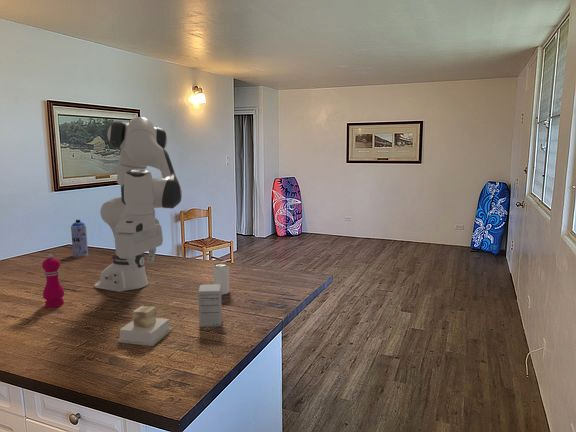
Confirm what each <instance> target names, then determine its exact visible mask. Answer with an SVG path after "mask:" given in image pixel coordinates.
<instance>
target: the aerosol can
mask: <svg viewBox="0 0 576 432" xmlns="http://www.w3.org/2000/svg"><path fill="white" fill-rule="evenodd" d="M70 231H71V243H72V244H71V245H72V257H74V258H81V257H87V256H89V250H88V249H89V248H88V237H87V236H88V235H87V234H88V233H87V226H86V224H85V223H84V222H83V221H81V219H75V222H73V223H72V224H71V226H70Z"/></svg>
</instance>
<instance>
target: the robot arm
mask: <svg viewBox="0 0 576 432" xmlns="http://www.w3.org/2000/svg"><path fill="white" fill-rule="evenodd" d="M107 139H108V140H107V141H108V143H109V145H110V146H111V147H112V148H115V149H120V154H119V159H118V166H117V173H116V174H117V175H116V182H117V184H118V185H119V186H120V194H121V196H120V197H115V198H114V197H113V198H111V199H110V200H107V201H106V202H103V203H102V205H101V207H100V209H99V213H100V218H101V219H102V220H103V221H104V223H105V224H107V225H108V226H109V228H110V229H111V232H112V234H113V238H114V246H115V254H114V255H112V256H111V257H110V260H112V263H111V264H110V265H108V266H106V268H105V269H103V270H102V271H101V272H100V276H99V281H97V282H95V284H94V288H96V289H102V290H107V291H112V292H118V293H121V292H125V291H130V290H132V291H133V290H138V289H141V288H144V287H146V286H148V285H149V280H148V278H147V273H146V269H145V253H147V252H148V254H147V256H146V262H147V263H150V264H151V263H153V262H155V256H156V252H157V247H161V246H162V245H163V243H164V238H163V230H162V225H160V222H159V220H158V219H157V218H156V210H155V209H158V208H159V209H160V208H161V209H175V207H177V206H179V204H180V203H181V201H182V198H183V191H182V187H181V185H180V182H179V180H178V178H177V176H176V173H175V168H174V166H173V164H172V161H171V159H170V155H169V153H168V151H167V149H166V148H167V147H166V146H167V144H168V137H167V132H166V131H165V130H164V129H163V128H161V127H158V126H156V127H155V126H154V124H153V122H152V121H151V120H150V119H148V118H146V117H141V116H140V117H139V116H138V117H134V118H132V119H131V120H130V121H129V122H128V121H127V122H125V121H122V120H121V121H120V120H117V121H114V122H112V123H111V124H110V126H109V127H108V130H107ZM147 167H151V168H155V169H157V170H158V171H160V173H161V176H162V177H161V178H160V177H159V178H153V176H152V172H151V171H149V170H147Z"/></svg>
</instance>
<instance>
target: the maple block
mask: <svg viewBox="0 0 576 432" xmlns="http://www.w3.org/2000/svg"><path fill="white" fill-rule="evenodd" d="M132 318H133V320H132V321H133V322H134V327H143V328H149V327H150V326H151V325H153V324H154V323H155V322H156V318H157V309H156V306H149V305H147V306H145V305H140V306H139V307H137V308H136V309H135V310H133V311H132Z"/></svg>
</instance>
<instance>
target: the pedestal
mask: <svg viewBox="0 0 576 432" xmlns="http://www.w3.org/2000/svg"><path fill="white" fill-rule="evenodd" d="M172 331H173V329H172V327H171V326H170V319H169V318H161V317H160V318H159V317H156V322H155V323H154V324H153V325H151V326H150V327H149V328H143V327H134V322H133V320H131V321H130V322H128V323H127V324H125V325H124V326H122V327H121V328H120V329H119V338H118V339H117V343H123V344H130V345H131V344H132V345H138V346H139V345H140V346H147V347H153V346H155V345H156V344H157V343H158V342H161V340H162V339H164V337H166V336H167V335H168V334H170V332H172Z"/></svg>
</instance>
